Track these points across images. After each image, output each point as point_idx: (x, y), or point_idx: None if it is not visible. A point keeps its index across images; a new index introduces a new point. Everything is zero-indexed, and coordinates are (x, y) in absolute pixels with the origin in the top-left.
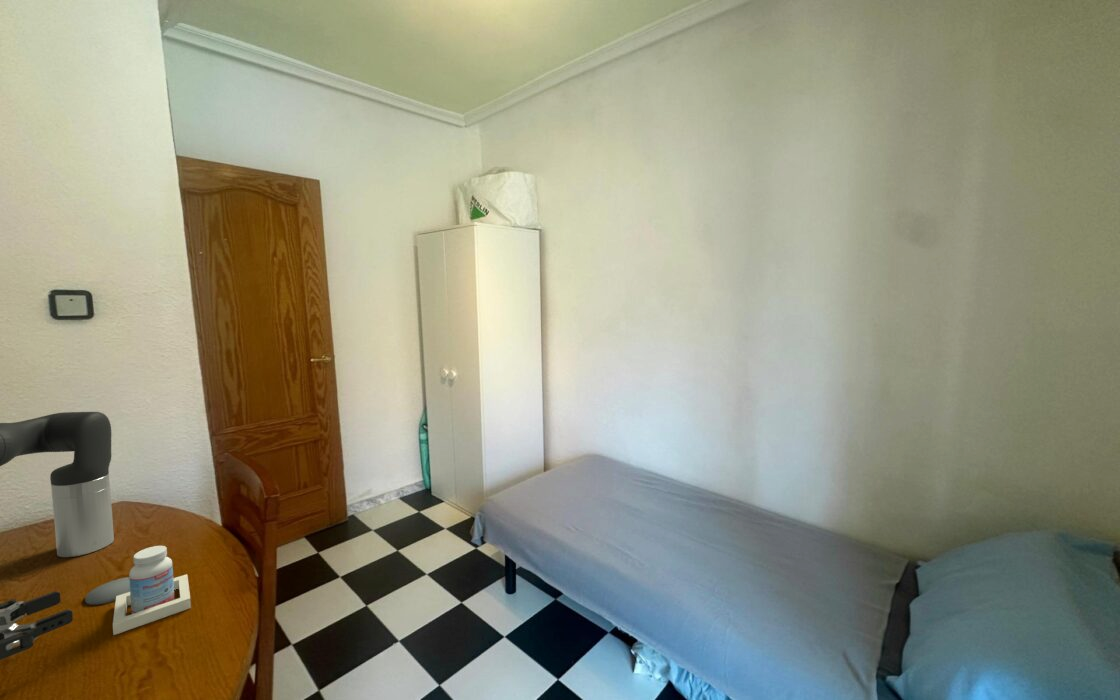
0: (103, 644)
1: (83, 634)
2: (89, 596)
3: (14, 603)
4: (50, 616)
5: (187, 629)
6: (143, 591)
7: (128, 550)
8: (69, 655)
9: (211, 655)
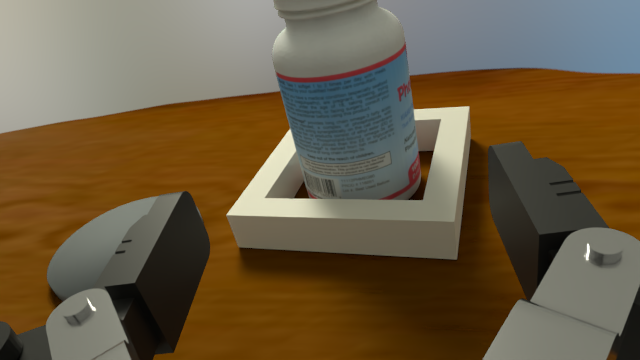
0: (502, 282)
1: (343, 323)
2: (81, 288)
3: (19, 340)
4: (523, 188)
5: (608, 141)
6: (399, 109)
7: None
8: None
9: None
